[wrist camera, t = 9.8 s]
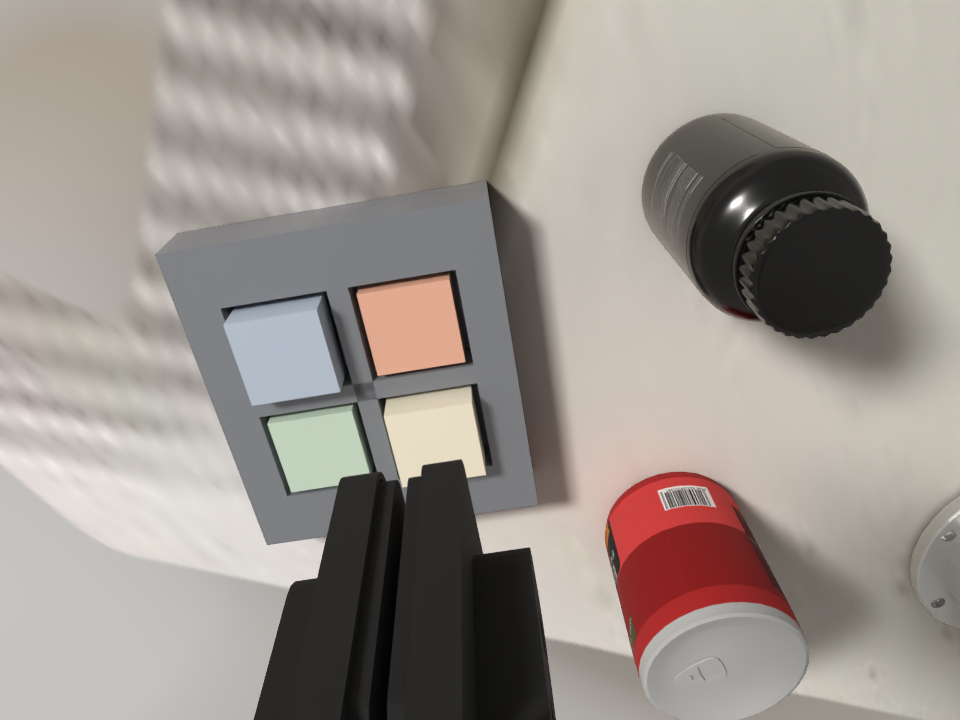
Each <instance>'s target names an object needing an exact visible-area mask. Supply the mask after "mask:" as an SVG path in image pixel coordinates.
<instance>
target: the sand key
mask: <svg viewBox="0 0 960 720" xmlns="http://www.w3.org/2000/svg"><path fill="white" fill-rule="evenodd" d="M384 420H385V423H386V427H387V431H388V435H389V439H390V442H391V446H392V450H393V454H394V457H395V461H396V465H397V469H398V473H399V476H400V480H401V484H402V488H403V487H407V484H408V479H409V478H411V477H417V476H421V469H422V466H423V465H426V464H433V463H439V462H446V461H453V460H459V459H462V461H463V464H464V468H465V472H466V476H467V478H469V477H476V476H482V475H486V466H485V451H484V446H483V441H482V436H481V431H480V426H479V420H478V415H477V410H476V405H475V400H474V395H473V390H472V385H471V384H469V385H463V386H456V387H450V388H444V389H437V390H431V391H424V392H418V393H412V394H405V395H399V396H393V397H387V399H386V406H385V412H384Z"/></svg>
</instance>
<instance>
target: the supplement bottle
mask: <svg viewBox="0 0 960 720" xmlns="http://www.w3.org/2000/svg"><path fill="white" fill-rule="evenodd" d="M642 204H643V210H644V214H645V217H646V220H647V222H648V224H649V226H650V228H651V230H652V231H653V233H654V234H655V236H656V237H657V239H658V240H659V241H660V242H661V244H662V245H663V246H664V248H665V249H666V250H667V251H668V253H669V254H670V255H671V256H672V258H673V259H674V260H675V261H676V263H677V264H678V265H679V266H680V268H681V269H682V270H683V271H684V273H685V274H686V275H687V276H688V278H689V279H690V280H691V282H692V283H693V284H694V285H695V287H696V288H697V289H698V290H699V292H700V293H701V294H702V295H703V296H704V297H705V298H706V299H707V300H708V301H709V302H710V303H711V304H712V305H713V306H715V307H716V308H717V309H719V310H720V311H722V312H723V313H725V314H727V315H729V316H732V317H734V318H737V319H740V320H744V321H749V322H757V323H765V324H767V325H769V326H770V327H771V328H772V329H773V330H774V331H777V332H782V333H783V334H784V335H785V336H794V337H796V338H798V339H799V338H804V337H807V338H810V339H812V338H815V337H818V336H821V337H825V336H827V335H829V334H831V333H837V332H839V331H841V330H842V329H843V328H845V327H849V326H851V325H852V324H853V323H854V322H855V321H856V320H858V319H860V318H862V317H863V316H864V314H865V312H866V311H868V310H869V309H871V308H872V307H873V305H874V303H875V301H876V300H877V299H878V298H879V297H880V296H881V294H882V290H883V288H884V287H885V286H886V285H887V281H888V280H887V278H888V276H889V274H890V272H891V266H890V264H891V261H892V255H891V254H890V250H891V244H890V243H889V242H888V241H887V233H886V232H885V231H883V230H882V229H881V225H880V223H879V222H878V221H876V220H875V219H873V218H872V217H871V216H870V214H869V209H868V204H867V201H866V197H865V194H864V192H863V190H862V188H861V186H860V184H859V183H858V181H857V180H856V178H855V177H854V176H853V174H852V173H851V172H850V171H849V170H848V169H847V168H846V167H844V166H843V165H842V164H841V163H839V162H838V161H836V160H835V159H833V158H831V157H830V156H828V155H826V154H824V153H822V152H820V151H818V150H816V149H814V148H812V147H810V146H808V145H806V144H804V143H801V142H799V141H797V140H795V139H793V138H791V137H789V136H787V135H785V134H783V133H781V132H779V131H777V130H775V129H773V128H771V127H769V126H767V125H764V124H762V123H760V122H758V121H755V120H753V119H751V118H748V117H745V116H741V115H736V114H727V113H724V114H712V115H707V116H704V117H700V118H697V119H695V120H693V121H690V122H689V123H687V124H685V125H683V126H682V127H680V128H679V129H677V130H676V131H674V132H673V133H672V134H671V135H670V136H669V137H668V138H667V139H666V140H665V141H664V142H663V143H662V144H661V145H660V146H659V148H658V149H657V151H656V152H655V154H654V155H653V157H652V159H651V161H650V163H649V165H648V167H647V170H646V173H645V176H644V181H643V186H642Z"/></svg>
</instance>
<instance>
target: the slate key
mask: <svg viewBox="0 0 960 720" xmlns="http://www.w3.org/2000/svg"><path fill="white" fill-rule="evenodd" d="M223 326H224V329H225V332H226V335H227V337H228V340H229V343H230V346H231V349H232V351H233V354H234V357H235V360H236V363H237V365H238V368H239V371H240V374H241V377H242V379H243V382H244V385H245V388H246V391H247V393H248V396H249V399H250V402H251V404H252V406H255V405H261V404H268V403H274V402H280V401H287V400H293V399H299V398H306V397H312V396H318V395H325V394H331V393H337V392H341V388H342V385H343V381H344V377H345V373H346V370H345V367H344V363H343V360H342V356H341V352H340V349H339V345H338V342H337V338H336V335H335V331H334V328H333V324H332V321H331V317H330V314H329V310H328V307H327V303H326V299H325V296H324V293H318V294H312V295H306V296H300V297H294V298H287V299H281V300H275V301H269V302H263V303H257V304H251V305H245V306H239V307H235V308H234V309H233V311H232V312H231V314H230V315H229V317H228V318H227V320H226V321H225V323H224V325H223Z"/></svg>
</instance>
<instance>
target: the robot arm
mask: <svg viewBox="0 0 960 720" xmlns="http://www.w3.org/2000/svg"><path fill="white" fill-rule="evenodd" d="M910 579H911V583H912V586H913V590H914V591H915V593H916V595H917V596H918V598H919V599H920V601H921V602H922V604H923V605H924V606H925V607H926V609H927V610H928V611H929V612H930V613H931V614H932V615H933V616H934V617H936V618H937V619H938V620H940V621H941V622H943V623H945V624H947V625H950V626H952V627H955V628H957V629H960V496H958V497H957V498H956V499H954V500H953V501H951V502H950V503H949V504H947V505H946V506H945V507H944V508H943V509H942V510H941V511H940V512H939V513H938V514H937V515H936V516H935V517H934V518H933V519H932V521H931V522H930V523H929V525H928V526H927V527H926V529H925V530H924V531H923V533H922V534H921V536H920V538H919V540H918V542H917V544H916V546H915V548H914V551H913V555H912V559H911V562H910ZM254 720H556V717H555V710H554V702H553V695H552V687H551V679H550V672H549V665H548V657H547V649H546V642H545V635H544V628H543V621H542V614H541V608H540V602H539V596H538V590H537V584H536V578H535V572H534V566H533V561H532V555H531V550H530V547H529V548H523V549H516V550H509V551H502V552H495V553H488V554H483V552H482V547H481V542H480V537H479V533H478V528H477V523H476V519H475V514H474V509H473V505H472V500H471V495H470V491H469V486H468V481H467V476H466V472H465V468H464V464H463V461H462V459H459V460H453V461H446V462H439V463H433V464H426V465H423V466H422V469H421V476H417V477H411V478H409V479H408V484H407V494H406V504H405V500H404V496H403V493H402V489H401V486H400V483H399V481H398V480H391V481H386V479H385V477H384V475H383V473H382V472H374V473H367V474H360V475H354V476H347V477H342V478H341V479H340V481H339V485H338V489H337V493H336V498H335V502H334V507H333V511H332V516H331V520H330V524H329V529H328V533H327V538H326V542H325V546H324V551H323V555H322V560H321V564H320V568H319V573H318V577H317V578H316V579H309V580H302V581H295V582H294V583H293V584H292V585H291V587H290V589H289V592H288V595H287V598H286V601H285V605H284V609H283V613H282V617H281V620H280V624H279V627H278V631H277V635H276V639H275V642H274V646H273V650H272V653H271V657H270V661H269V665H268V669H267V672H266V676H265V680H264V683H263V687H262V691H261V695H260V698H259V702H258V706H257V709H256V714H255V717H254Z"/></svg>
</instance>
